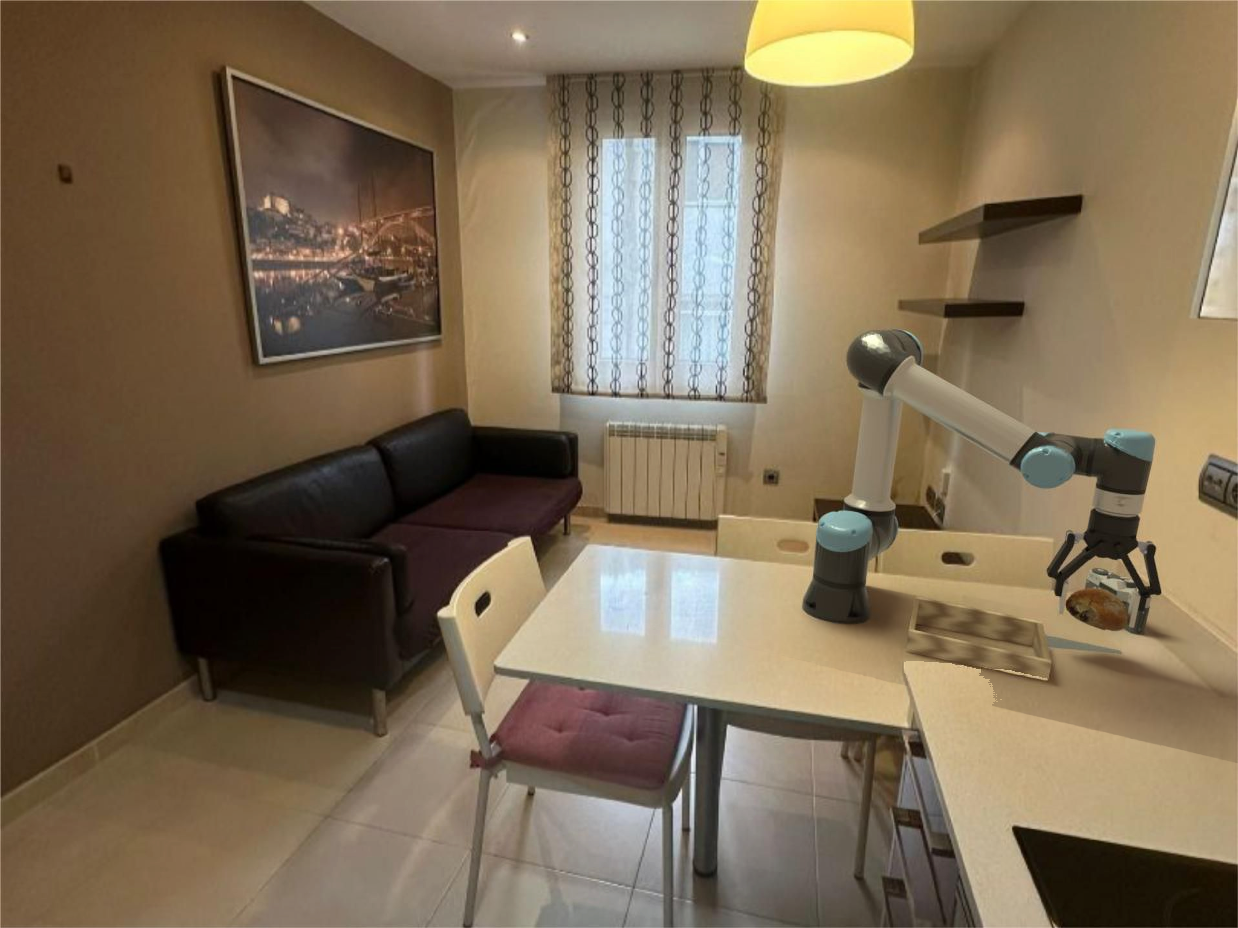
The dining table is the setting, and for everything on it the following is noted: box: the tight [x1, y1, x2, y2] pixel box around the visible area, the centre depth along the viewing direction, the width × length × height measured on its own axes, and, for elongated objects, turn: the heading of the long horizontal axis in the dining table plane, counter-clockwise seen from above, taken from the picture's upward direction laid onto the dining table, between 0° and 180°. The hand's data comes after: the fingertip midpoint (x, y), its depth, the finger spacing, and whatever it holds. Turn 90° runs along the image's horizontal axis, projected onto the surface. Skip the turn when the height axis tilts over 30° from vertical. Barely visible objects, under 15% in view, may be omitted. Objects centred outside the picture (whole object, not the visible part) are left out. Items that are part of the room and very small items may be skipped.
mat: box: [1045, 634, 1123, 655], centre depth 129 cm, size 14×14×1 cm
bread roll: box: [1065, 588, 1129, 632], centre depth 126 cm, size 10×10×8 cm
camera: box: [1084, 567, 1152, 635], centre depth 146 cm, size 16×10×10 cm, turn 1°
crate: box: [905, 595, 1053, 680], centre depth 130 cm, size 24×18×6 cm
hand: (1094, 617), depth 126 cm, fingers closed on bread roll, 11 cm apart
